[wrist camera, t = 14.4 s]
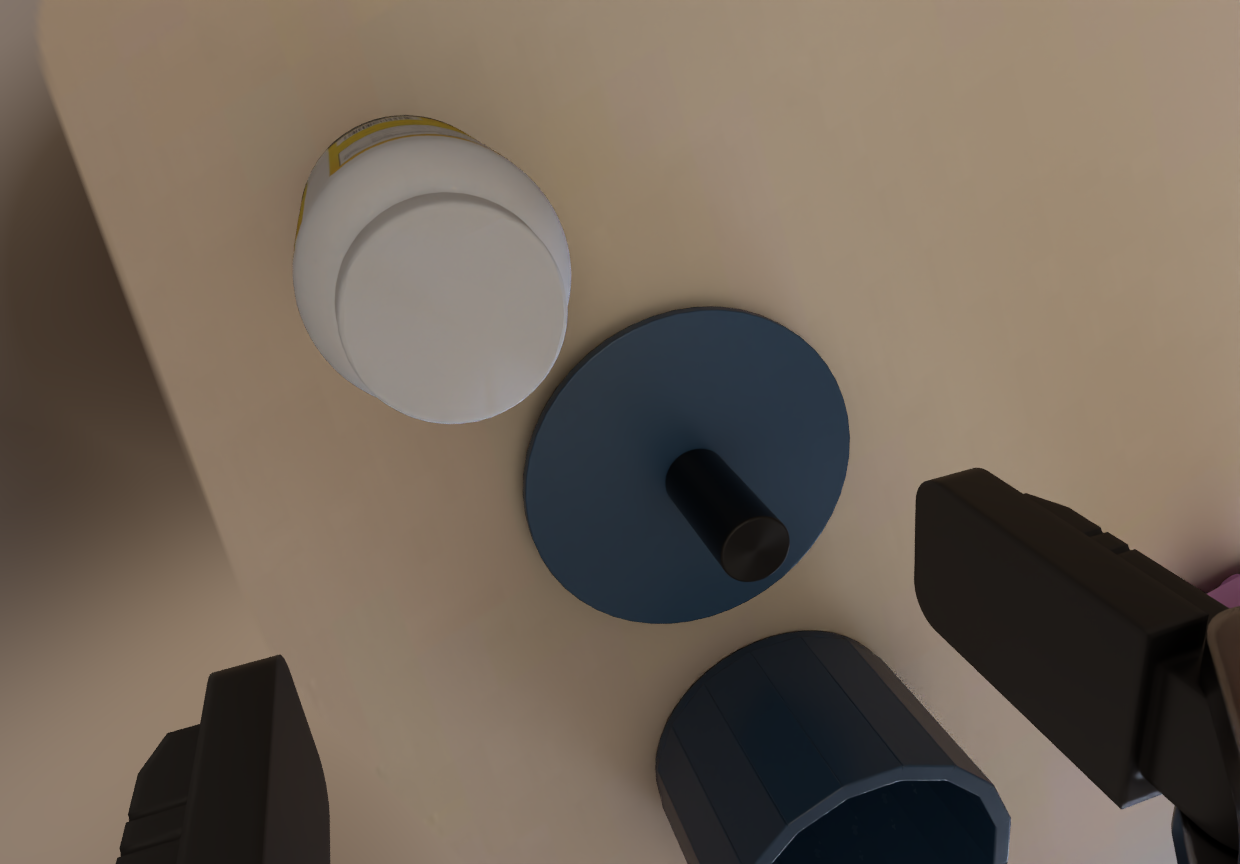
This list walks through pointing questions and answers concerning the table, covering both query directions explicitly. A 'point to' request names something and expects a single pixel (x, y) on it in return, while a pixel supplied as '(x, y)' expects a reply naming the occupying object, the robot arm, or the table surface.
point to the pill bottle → (430, 270)
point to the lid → (686, 465)
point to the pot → (820, 765)
